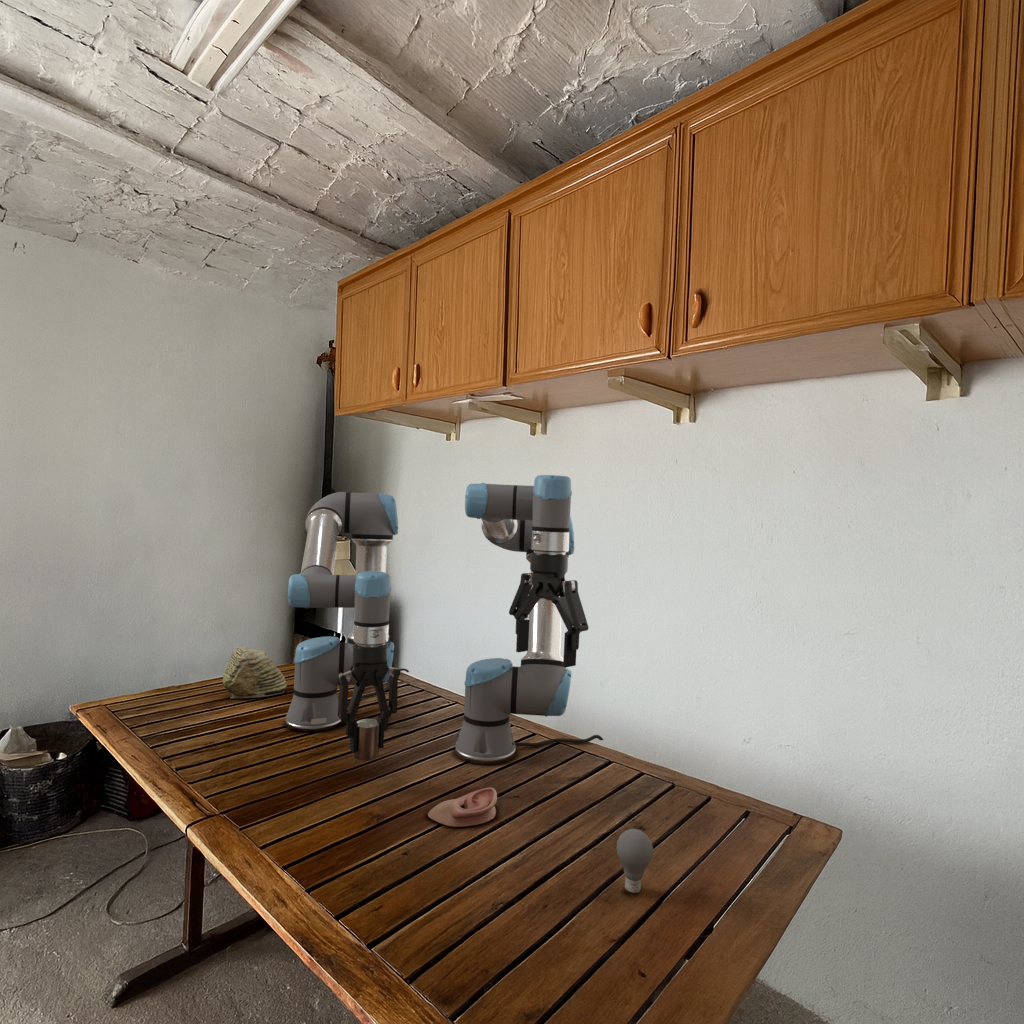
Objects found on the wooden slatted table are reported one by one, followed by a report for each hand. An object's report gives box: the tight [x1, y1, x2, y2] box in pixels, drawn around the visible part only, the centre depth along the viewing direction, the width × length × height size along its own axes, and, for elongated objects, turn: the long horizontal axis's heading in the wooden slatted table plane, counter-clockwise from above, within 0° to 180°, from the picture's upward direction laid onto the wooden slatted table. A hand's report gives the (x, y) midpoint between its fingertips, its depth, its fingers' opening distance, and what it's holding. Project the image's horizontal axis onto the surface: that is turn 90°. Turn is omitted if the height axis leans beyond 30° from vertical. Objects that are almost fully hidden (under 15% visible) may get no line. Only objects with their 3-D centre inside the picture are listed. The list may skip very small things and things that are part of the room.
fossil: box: [222, 646, 288, 699], centre depth 198 cm, size 9×18×15 cm, turn 132°
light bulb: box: [615, 828, 654, 894], centre depth 106 cm, size 6×6×10 cm
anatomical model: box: [427, 787, 498, 828], centre depth 129 cm, size 13×4×12 cm
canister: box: [353, 718, 380, 762], centre depth 139 cm, size 5×5×7 cm
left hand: (366, 747), depth 139 cm, fingers closed on canister, 5 cm apart
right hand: (544, 658), depth 127 cm, fingers open, 13 cm apart
